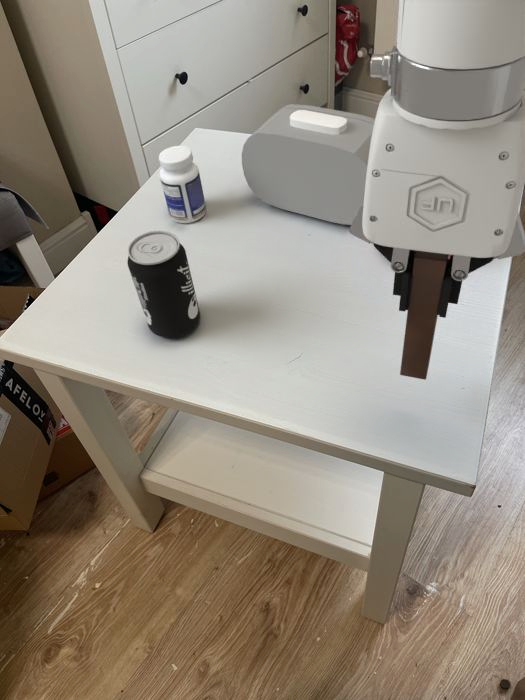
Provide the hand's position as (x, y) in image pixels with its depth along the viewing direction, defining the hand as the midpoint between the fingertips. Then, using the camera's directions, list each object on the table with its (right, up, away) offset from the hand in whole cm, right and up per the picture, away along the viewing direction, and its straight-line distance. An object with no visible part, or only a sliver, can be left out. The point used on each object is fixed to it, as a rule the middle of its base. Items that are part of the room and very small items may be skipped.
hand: (424, 301), depth 47 cm
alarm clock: (-5, +18, +39) cm, 43 cm away
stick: (+1, -6, +6) cm, 9 cm away
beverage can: (-24, -1, +24) cm, 34 cm away
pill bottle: (-25, +17, +40) cm, 50 cm away
